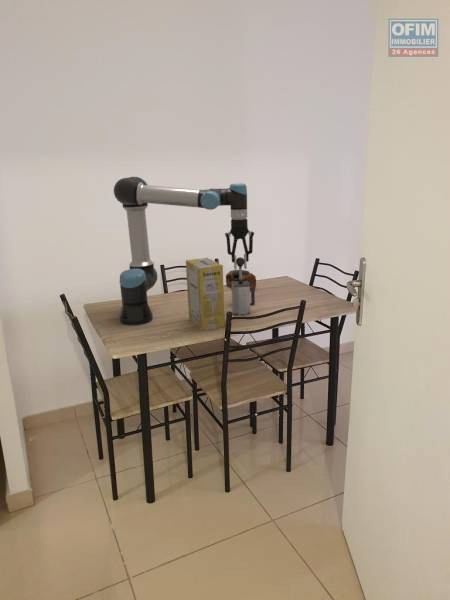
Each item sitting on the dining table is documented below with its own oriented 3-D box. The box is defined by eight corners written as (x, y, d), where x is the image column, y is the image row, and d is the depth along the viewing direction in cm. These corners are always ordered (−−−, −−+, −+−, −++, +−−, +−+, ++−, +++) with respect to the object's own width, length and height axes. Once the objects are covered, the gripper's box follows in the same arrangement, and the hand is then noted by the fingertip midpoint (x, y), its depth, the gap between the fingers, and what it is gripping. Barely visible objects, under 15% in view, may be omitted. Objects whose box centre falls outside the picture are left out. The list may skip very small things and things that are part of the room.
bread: (256, 290, 262) (256, 273, 259) (240, 293, 258) (239, 275, 255) (241, 283, 278) (240, 266, 275) (225, 285, 274) (224, 269, 271)
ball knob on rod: (237, 289, 219) (236, 258, 214) (235, 287, 223) (235, 256, 218) (245, 288, 219) (245, 258, 215) (244, 286, 223) (243, 256, 219)
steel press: (234, 316, 220) (233, 285, 216) (231, 310, 228) (230, 281, 224) (256, 314, 221) (255, 284, 217) (252, 309, 229) (252, 279, 225)
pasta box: (189, 318, 219) (185, 260, 211) (209, 315, 223) (207, 257, 215) (202, 330, 203) (199, 268, 195) (224, 326, 207) (222, 265, 199)
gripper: (221, 220, 207) (223, 271, 214) (259, 218, 209) (259, 269, 216) (219, 218, 214) (221, 268, 221) (255, 216, 216) (256, 265, 223)
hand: (240, 268), depth 218 cm, fingers closed on ball knob on rod, 4 cm apart
